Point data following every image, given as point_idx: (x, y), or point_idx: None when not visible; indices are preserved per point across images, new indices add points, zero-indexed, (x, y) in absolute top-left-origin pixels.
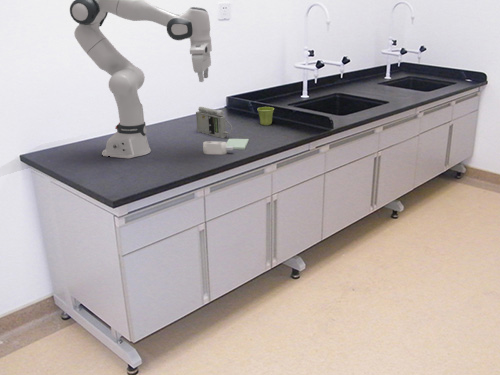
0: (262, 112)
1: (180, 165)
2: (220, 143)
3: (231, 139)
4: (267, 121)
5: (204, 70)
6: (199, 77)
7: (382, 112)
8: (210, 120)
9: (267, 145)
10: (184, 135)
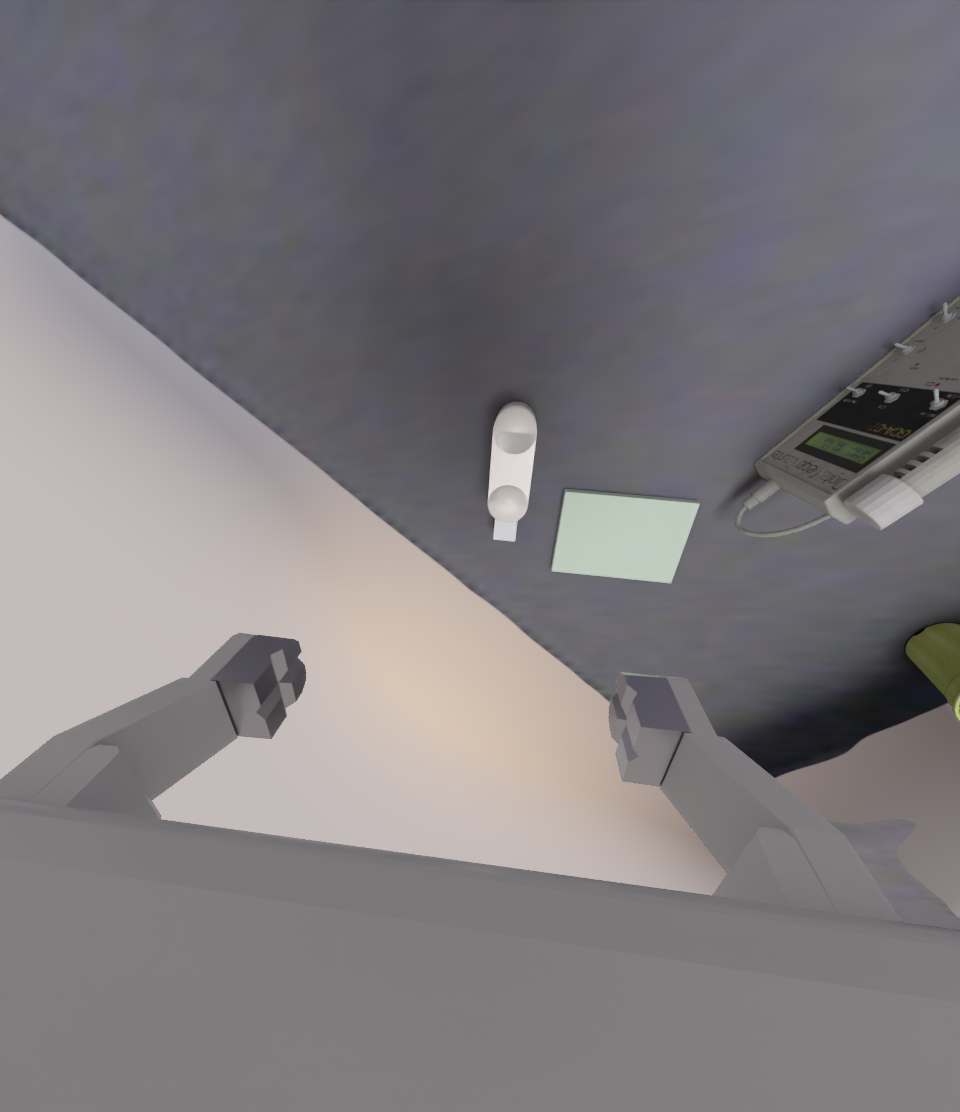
0: None
1: (332, 317)
2: (498, 498)
3: (682, 515)
4: (917, 659)
5: (758, 820)
6: (176, 694)
7: None
8: (915, 407)
9: (595, 636)
10: (914, 190)
